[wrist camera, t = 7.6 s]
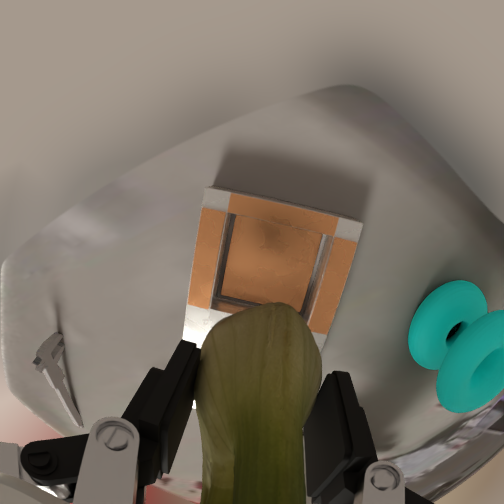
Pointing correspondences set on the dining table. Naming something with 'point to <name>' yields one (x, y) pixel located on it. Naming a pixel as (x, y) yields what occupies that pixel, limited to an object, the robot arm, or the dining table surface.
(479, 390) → the donuts
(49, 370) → the caliper
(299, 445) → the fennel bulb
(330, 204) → the dining table surface
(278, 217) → the orange and grey tray
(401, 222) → the dining table surface
